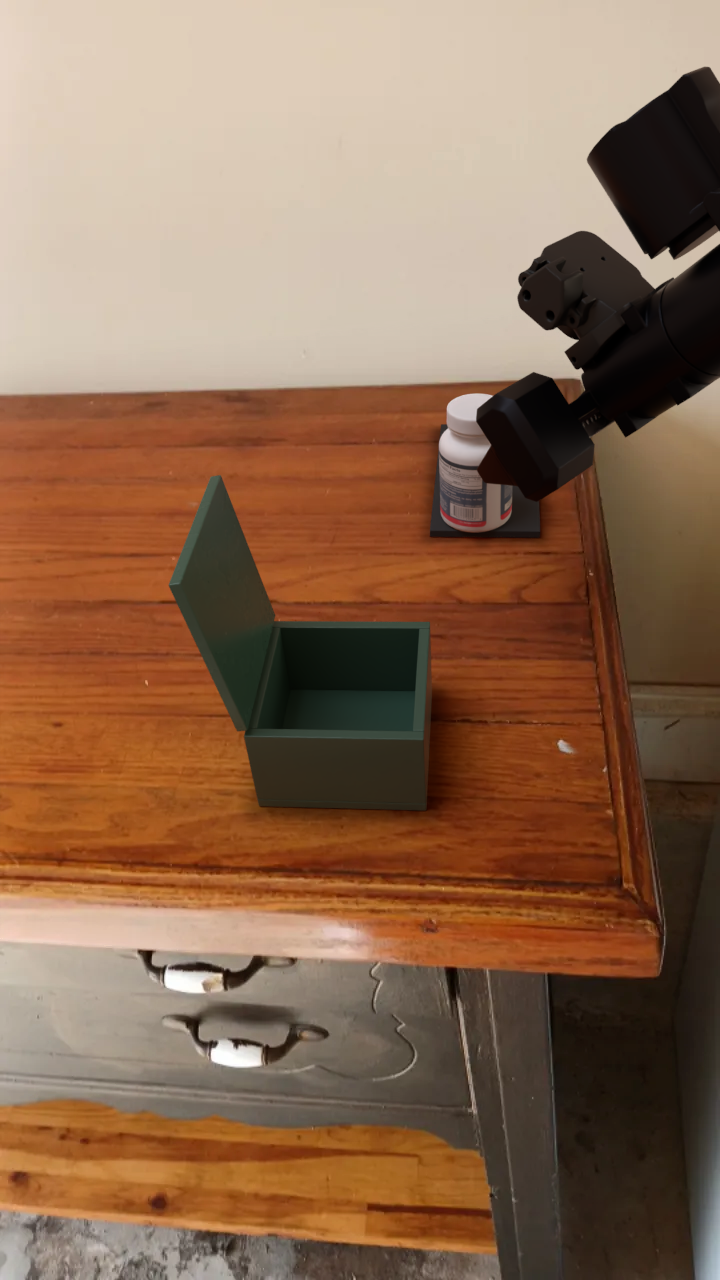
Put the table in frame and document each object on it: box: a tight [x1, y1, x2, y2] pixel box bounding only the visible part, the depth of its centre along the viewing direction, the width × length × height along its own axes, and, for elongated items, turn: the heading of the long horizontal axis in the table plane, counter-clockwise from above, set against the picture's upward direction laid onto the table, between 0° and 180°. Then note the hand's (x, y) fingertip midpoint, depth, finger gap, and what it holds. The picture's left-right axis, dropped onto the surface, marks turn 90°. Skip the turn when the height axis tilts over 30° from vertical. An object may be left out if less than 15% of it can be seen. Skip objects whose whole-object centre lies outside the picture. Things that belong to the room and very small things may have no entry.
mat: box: [429, 423, 541, 539], centre depth 76 cm, size 16×8×1 cm, turn 173°
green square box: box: [243, 620, 433, 812], centre depth 54 cm, size 9×9×6 cm
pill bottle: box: [438, 393, 512, 532], centre depth 68 cm, size 5×5×9 cm
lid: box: [168, 474, 276, 732], centre depth 49 cm, size 10×9×1 cm
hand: (526, 447), depth 64 cm, fingers open, 9 cm apart
